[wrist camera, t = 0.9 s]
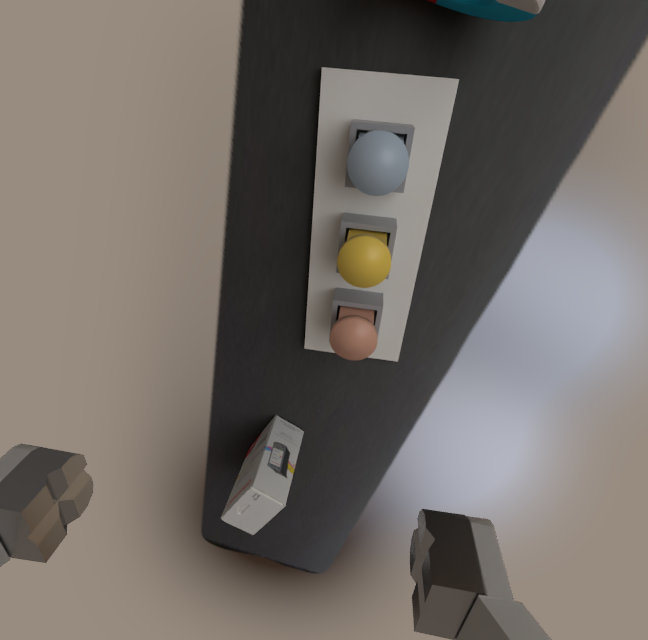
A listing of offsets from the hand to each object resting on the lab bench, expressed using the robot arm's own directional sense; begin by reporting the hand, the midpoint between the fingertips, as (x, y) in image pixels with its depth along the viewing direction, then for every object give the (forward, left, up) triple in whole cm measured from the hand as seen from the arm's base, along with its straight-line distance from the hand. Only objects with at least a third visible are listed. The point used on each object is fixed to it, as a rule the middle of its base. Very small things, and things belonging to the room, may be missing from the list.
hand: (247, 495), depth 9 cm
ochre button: (+4, +2, -30) cm, 31 cm away
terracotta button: (+12, +2, -30) cm, 33 cm away
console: (+4, +2, -33) cm, 33 cm away
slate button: (-4, +2, -30) cm, 31 cm away
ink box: (+35, -7, -33) cm, 49 cm away
